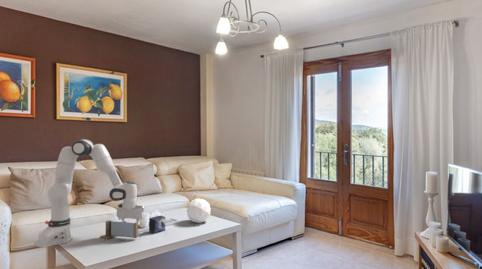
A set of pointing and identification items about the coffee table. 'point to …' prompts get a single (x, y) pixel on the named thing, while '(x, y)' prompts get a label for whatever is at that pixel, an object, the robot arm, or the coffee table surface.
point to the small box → (156, 224)
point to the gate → (124, 229)
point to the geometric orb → (198, 210)
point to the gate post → (108, 231)
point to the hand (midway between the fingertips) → (130, 224)
